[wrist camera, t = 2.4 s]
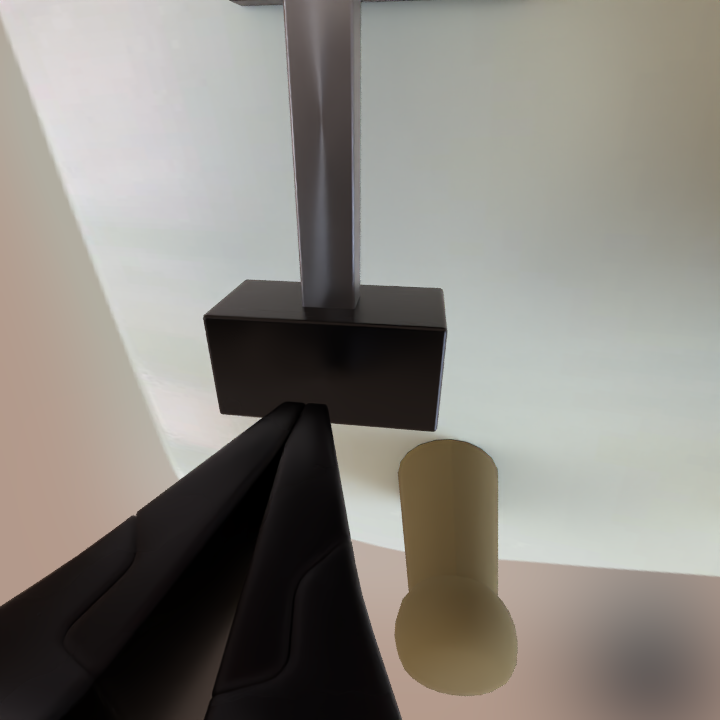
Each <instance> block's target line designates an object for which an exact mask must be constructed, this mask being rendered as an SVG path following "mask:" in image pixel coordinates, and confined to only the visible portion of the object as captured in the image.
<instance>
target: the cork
mask: <svg viewBox="0 0 720 720" xmlns="http://www.w3.org/2000/svg"><path fill="white" fill-rule="evenodd" d="M398 479H399V490H400V500H401V511H402V522H403V533H404V544H405V555H406V566H407V577H408V588H409V593H408V594H407V595H406V596H405V597H404V599H403V600H402V603H401V606H400V609H399V613H398V616H397V619H396V623H395V641H396V647H397V651H398V655H399V658H400V660H401V662H402V665H403V667H404V669H405V670H406V671H407V673H408V674H409V675H410V676H411V677H412V678H413V679H415V680H416V681H417V682H419V683H420V684H422V685H424V686H426V687H427V688H429V689H432V690H435V691H437V692H441V693H446V694H451V695H459V696H474V695H482V694H486V693H490V692H492V691H494V690H496V689H497V688H499V687H501V686H503V685H504V684H506V683H507V681H508V680H509V679H510V677H511V675H512V673H513V671H514V669H515V666H516V663H517V636H516V630H515V625H514V623H513V620H512V618H511V615H510V613H509V611H508V609H507V608H506V606H505V605H504V603H503V602H502V601H501V599H500V598H499V597H498V470H497V467H496V465H495V463H494V462H493V460H492V458H491V457H490V456H489V455H487V454H486V453H485V452H484V451H483V450H482V449H480V448H478V447H476V446H473V445H471V444H469V443H466V442H461V441H455V440H435V441H431V442H428V443H425V444H421V445H419V446H417V447H416V448H414V449H413V450H411V451H410V452H408V453H407V454H406V456H405V457H404V458H403V460H402V461H401V462H400V467H399V471H398Z"/></svg>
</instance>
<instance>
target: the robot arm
mask: <svg viewBox="0 0 720 720" xmlns="http://www.w3.org/2000/svg"><path fill="white" fill-rule="evenodd" d="M0 720H402V718H401V715H400V712H399V709H398V706H397V703H396V700H395V696H394V694H393V691H392V688H391V684H390V682H389V679H388V675H387V672H386V670H385V666H384V663H383V660H382V657H381V654H380V651H379V648H378V645H377V642H376V639H375V636H374V633H373V630H372V626H371V623H370V620H369V616H368V613H367V609H366V606H365V602H364V599H363V596H362V592H361V587H360V582H359V578H358V573H357V569H356V564H355V558H354V552H353V547H352V542H351V537H350V531H349V525H348V520H347V514H346V508H345V502H344V497H343V491H342V485H341V480H340V474H339V468H338V462H337V457H336V451H335V445H334V440H333V434H332V428H331V422H330V417H329V411H328V407H327V405H325V404H316V403H308V404H306V405H305V404H304V403H302V402H290V401H286V402H283V403H282V404H280V405H279V406H278V407H276V408H275V409H274V410H272V411H271V412H270V413H268V414H267V415H266V416H264V417H263V418H262V419H260V420H259V421H258V422H256V423H255V424H254V425H252V426H251V427H250V428H248V429H247V430H246V431H244V432H243V433H242V434H240V435H239V436H238V437H236V438H235V439H234V440H232V441H231V442H230V443H228V444H227V445H226V446H224V447H223V448H222V449H220V450H219V451H218V452H216V453H215V454H214V455H212V456H211V457H210V458H208V459H207V460H206V461H204V462H203V463H202V464H200V465H199V466H198V467H196V468H195V469H194V470H192V471H191V472H190V473H188V474H187V475H186V476H184V477H183V478H182V479H180V480H179V481H178V482H176V483H175V484H174V485H172V486H171V487H170V488H168V489H167V490H166V491H165V492H163V493H162V494H160V495H159V496H158V497H156V498H155V499H154V500H152V501H151V502H150V503H148V504H147V505H146V506H144V507H143V508H142V509H140V510H139V511H138V512H137V514H136V516H131V517H130V518H128V519H127V520H126V521H124V522H123V523H122V524H120V525H119V526H118V527H116V528H115V529H114V530H112V531H111V532H110V533H108V534H107V535H105V536H104V537H103V538H101V539H100V540H98V541H97V542H96V543H94V544H93V545H92V546H90V547H89V548H87V549H86V550H85V551H83V552H82V553H80V554H79V555H78V556H76V557H75V558H73V559H72V560H70V561H69V562H67V563H66V564H64V565H63V566H61V567H60V568H58V569H57V570H55V571H54V572H52V573H51V574H49V575H48V576H46V577H45V578H43V579H42V580H40V581H39V582H37V583H36V584H34V585H33V586H31V587H29V588H28V589H26V590H25V591H23V592H22V593H20V594H19V595H17V596H16V597H14V598H12V599H11V600H9V601H8V602H6V603H5V604H3V605H2V606H0Z"/></svg>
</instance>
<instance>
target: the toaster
mask: <svg viewBox="0 0 720 720" xmlns="http://www.w3.org/2000/svg"><path fill="white" fill-rule="evenodd" d="M230 1H232V2H234V3H236V4H239V5H241V6H252V5H283V0H230ZM380 1H412V0H361V2H380Z"/></svg>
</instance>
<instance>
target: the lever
mask: <svg viewBox="0 0 720 720" xmlns="http://www.w3.org/2000/svg"><path fill="white" fill-rule="evenodd" d="M283 9H284V25H285V41H286V56H287V72H288V88H289V104H290V119H291V135H292V151H293V166H294V182H295V198H296V214H297V229H298V245H299V261H300V276H301V282H288V281H266V280H245V281H244V282H243V283H241V284H240V285H239V286H238V287H237V288H236V289H234V290H233V291H232V292H231V293H230V294H228V295H227V296H226V297H225V298H224V299H222V300H221V301H220V302H219V303H218V304H217V305H215V306H214V307H213V308H212V309H211V310H209V311H208V312H207V313H206V314H205V315H204V317H203V320H204V325H205V331H206V337H207V342H208V348H209V353H210V359H211V364H212V370H213V375H214V381H215V387H216V392H217V398H218V403H219V409H220V413H221V414H226V415H238V416H250V417H262V418H263V417H264V416H266V415H267V414H268V413H270V412H271V411H272V410H274V409H275V408H276V407H278V406H279V405H280V404H282V403H283V402H286V401H290V402H302V403H304V404H305V405H306V404H308V403H316V404H325V405H327V407H328V411H329V417H330V422H331V423H334V424H346V425H358V426H370V427H383V428H395V429H407V430H419V431H431V432H434V431H436V429H437V424H438V415H439V405H440V396H441V386H442V377H443V368H444V358H445V349H446V339H447V323H446V313H445V304H444V294H443V290H442V289H441V288H422V287H400V286H377V285H360V193H361V0H283Z"/></svg>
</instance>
